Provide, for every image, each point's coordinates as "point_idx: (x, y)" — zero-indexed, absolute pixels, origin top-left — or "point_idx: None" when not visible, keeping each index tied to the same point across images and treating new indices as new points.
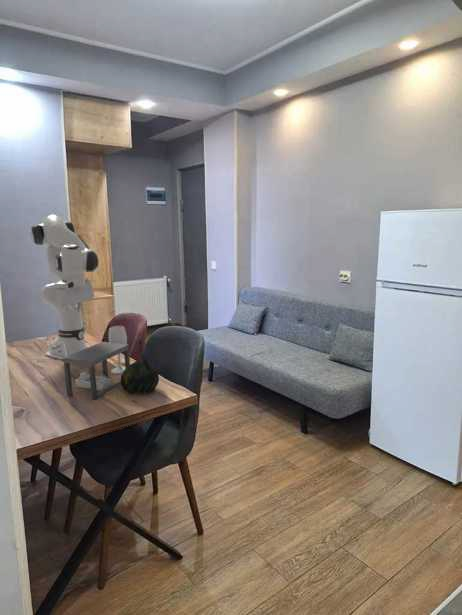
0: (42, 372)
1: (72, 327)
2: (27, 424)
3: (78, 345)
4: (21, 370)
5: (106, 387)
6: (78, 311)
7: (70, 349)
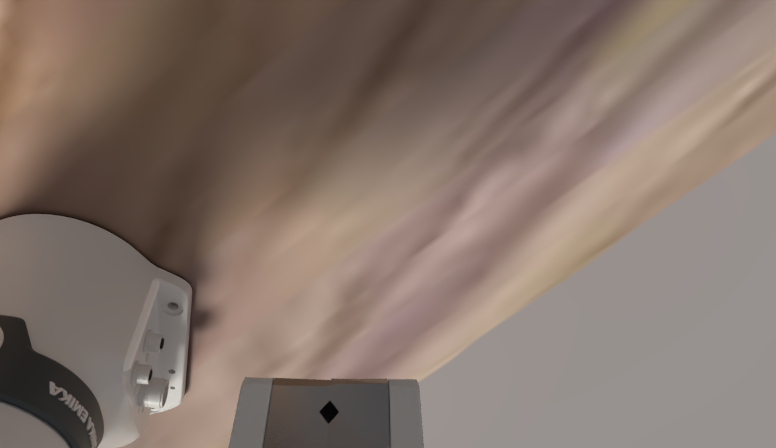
0: (418, 240)
1: (5, 436)
2: None
3: (47, 288)
4: (423, 347)
5: None
6: (343, 394)
7: (115, 300)
